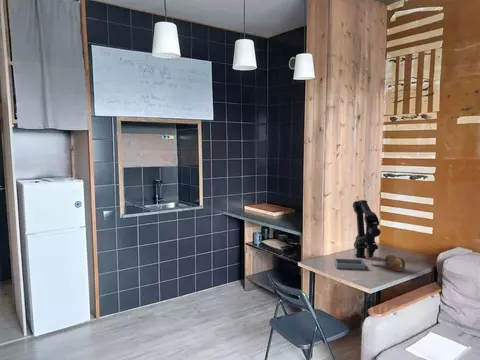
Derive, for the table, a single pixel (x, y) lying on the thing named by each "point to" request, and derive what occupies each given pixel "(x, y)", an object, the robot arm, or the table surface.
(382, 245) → the table surface
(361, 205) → the robot arm
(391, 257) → the tin
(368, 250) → the block
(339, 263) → the bin
